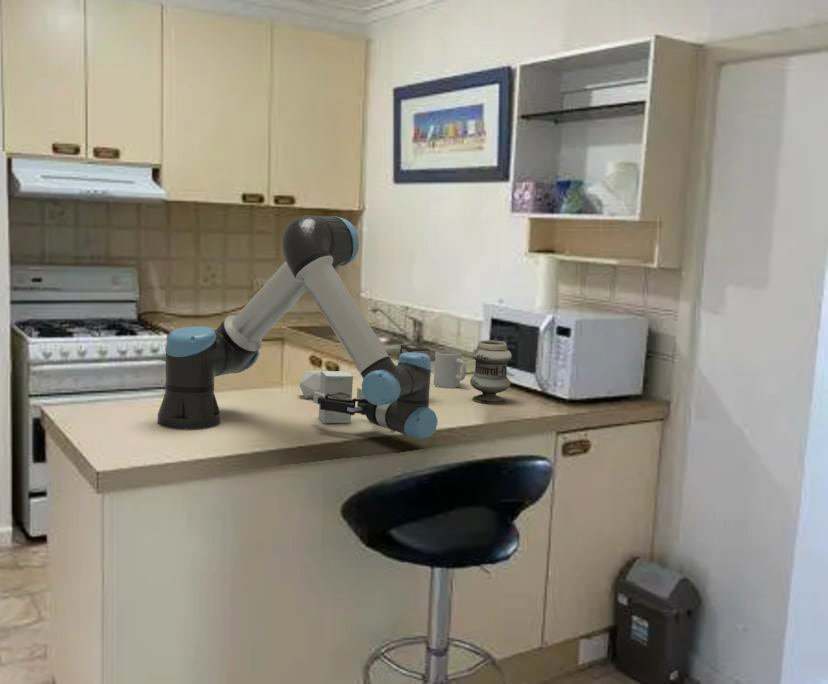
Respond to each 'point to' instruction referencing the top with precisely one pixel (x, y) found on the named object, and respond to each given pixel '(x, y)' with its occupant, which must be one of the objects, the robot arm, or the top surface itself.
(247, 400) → the top surface
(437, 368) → the mug
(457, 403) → the top surface
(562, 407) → the top surface
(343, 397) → the supplement box
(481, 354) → the apothecary jar
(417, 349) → the coffee box
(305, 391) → the die
